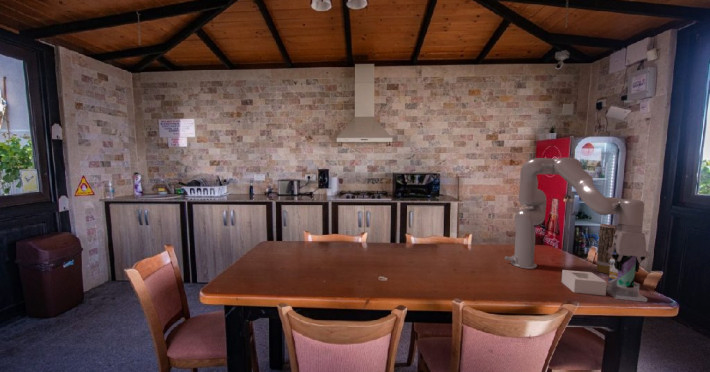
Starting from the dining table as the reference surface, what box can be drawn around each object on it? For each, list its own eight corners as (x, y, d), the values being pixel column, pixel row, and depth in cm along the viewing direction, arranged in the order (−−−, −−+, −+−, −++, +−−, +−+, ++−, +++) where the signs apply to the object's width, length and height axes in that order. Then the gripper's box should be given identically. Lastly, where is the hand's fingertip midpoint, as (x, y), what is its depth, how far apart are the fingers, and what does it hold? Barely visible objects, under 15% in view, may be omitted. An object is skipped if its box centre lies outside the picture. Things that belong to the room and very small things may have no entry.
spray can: (613, 284, 131) (616, 239, 129) (624, 284, 131) (628, 239, 130) (625, 289, 125) (629, 243, 124) (637, 289, 126) (641, 242, 124)
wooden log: (616, 274, 154) (620, 227, 152) (601, 273, 155) (604, 226, 153) (607, 270, 161) (611, 224, 159) (593, 269, 162) (596, 223, 160)
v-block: (600, 288, 136) (601, 276, 136) (629, 291, 134) (630, 279, 133) (615, 298, 126) (616, 286, 125) (647, 301, 123) (648, 289, 123)
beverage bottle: (633, 289, 135) (637, 246, 134) (609, 285, 140) (613, 243, 138) (629, 283, 142) (632, 242, 141) (606, 279, 147) (609, 239, 145)
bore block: (574, 292, 131) (575, 279, 131) (561, 282, 143) (562, 269, 142) (605, 295, 129) (606, 282, 128) (590, 284, 140) (591, 272, 140)
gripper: (611, 229, 125) (608, 271, 126) (661, 231, 121) (656, 275, 122) (601, 225, 132) (598, 265, 133) (647, 228, 128) (643, 269, 130)
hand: (626, 269), depth 128 cm, fingers closed on spray can, 5 cm apart
